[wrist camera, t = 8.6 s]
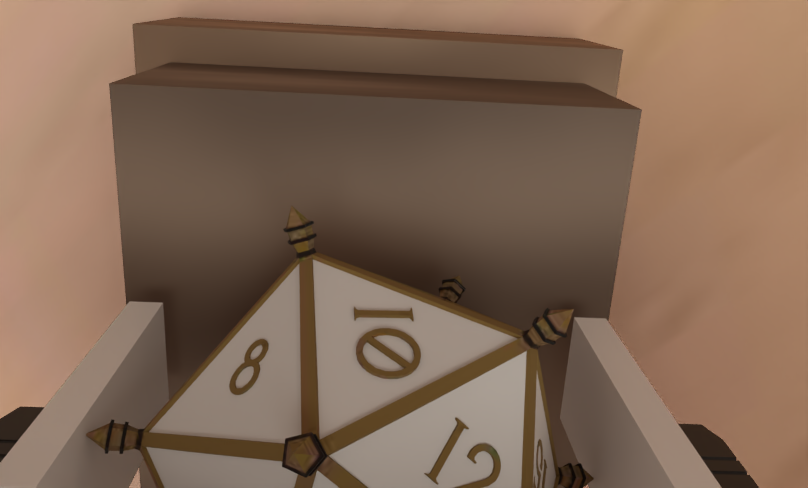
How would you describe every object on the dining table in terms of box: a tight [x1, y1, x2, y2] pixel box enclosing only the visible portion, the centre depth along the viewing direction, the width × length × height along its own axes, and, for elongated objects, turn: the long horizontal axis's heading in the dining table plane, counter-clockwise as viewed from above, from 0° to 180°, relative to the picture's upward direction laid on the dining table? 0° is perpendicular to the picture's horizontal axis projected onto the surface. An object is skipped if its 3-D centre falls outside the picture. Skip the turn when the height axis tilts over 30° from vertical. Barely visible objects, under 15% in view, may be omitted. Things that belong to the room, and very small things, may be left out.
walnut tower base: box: [109, 17, 642, 488], centre depth 23 cm, size 14×14×10 cm
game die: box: [86, 205, 594, 488], centre depth 14 cm, size 9×8×10 cm
